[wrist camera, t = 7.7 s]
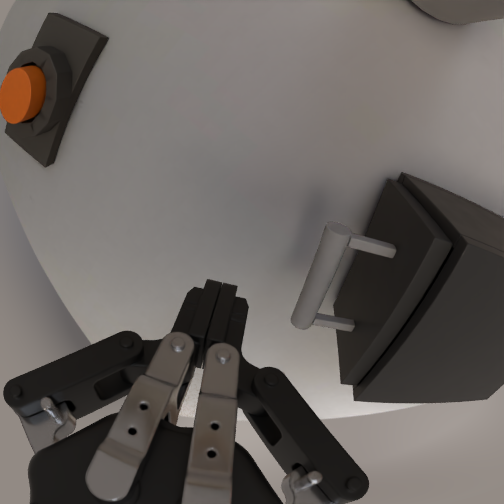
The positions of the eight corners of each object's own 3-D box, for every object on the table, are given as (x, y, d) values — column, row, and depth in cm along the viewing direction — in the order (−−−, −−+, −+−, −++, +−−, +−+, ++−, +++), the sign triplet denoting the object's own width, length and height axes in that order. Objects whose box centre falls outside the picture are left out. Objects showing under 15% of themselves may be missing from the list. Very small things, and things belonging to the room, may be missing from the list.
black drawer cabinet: (342, 305, 25) (353, 401, 17) (401, 171, 18) (468, 243, 10) (458, 326, 25) (487, 399, 17) (520, 227, 18) (577, 292, 10)
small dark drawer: (284, 295, 24) (278, 375, 17) (328, 159, 17) (350, 211, 11) (450, 326, 24) (474, 389, 17) (510, 231, 17) (558, 287, 11)
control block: (54, 164, 20) (32, 176, 18) (12, 128, 19) (-10, 137, 16) (110, 38, 15) (86, 36, 12) (56, 12, 13) (32, 11, 10)
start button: (36, 127, 16) (20, 133, 15) (9, 106, 15) (-6, 110, 14) (54, 77, 14) (38, 79, 12) (25, 58, 13) (9, 60, 11)
